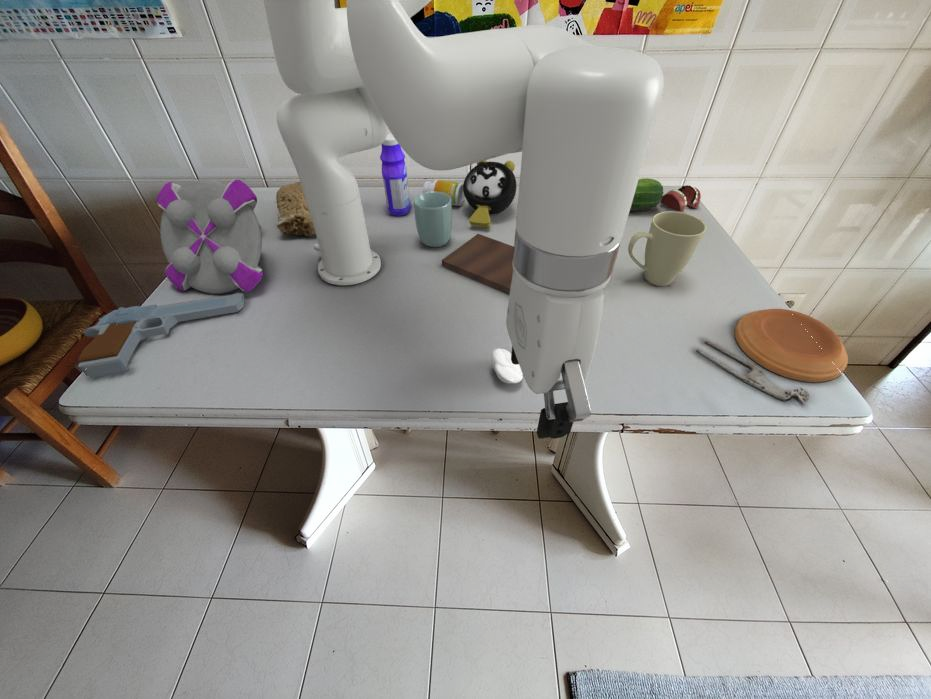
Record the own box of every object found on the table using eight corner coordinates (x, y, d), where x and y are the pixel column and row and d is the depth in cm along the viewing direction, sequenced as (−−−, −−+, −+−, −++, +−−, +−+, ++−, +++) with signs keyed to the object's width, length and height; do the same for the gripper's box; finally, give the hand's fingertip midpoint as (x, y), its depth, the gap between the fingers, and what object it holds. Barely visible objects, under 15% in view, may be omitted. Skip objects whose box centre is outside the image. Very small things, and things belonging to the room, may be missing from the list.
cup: (448, 253, 91) (446, 209, 84) (413, 250, 92) (408, 206, 85) (456, 235, 96) (455, 192, 89) (423, 232, 97) (419, 189, 90)
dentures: (663, 185, 101) (687, 179, 105) (655, 203, 104) (678, 197, 108) (684, 196, 98) (708, 190, 101) (675, 215, 101) (699, 208, 105)
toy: (183, 130, 73) (242, 154, 87) (111, 237, 78) (178, 243, 93) (284, 233, 73) (326, 240, 88) (205, 332, 79) (257, 323, 93)
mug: (644, 259, 88) (662, 204, 80) (690, 278, 83) (715, 222, 75) (616, 281, 83) (632, 225, 75) (663, 303, 78) (686, 246, 69)
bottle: (409, 217, 102) (400, 141, 90) (386, 217, 102) (374, 141, 90) (412, 203, 107) (404, 130, 95) (390, 203, 107) (379, 130, 95)
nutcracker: (693, 349, 69) (710, 334, 71) (692, 352, 69) (709, 338, 71) (799, 410, 59) (815, 392, 61) (796, 414, 60) (812, 396, 62)
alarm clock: (456, 229, 105) (444, 164, 99) (507, 218, 109) (499, 155, 104) (476, 230, 94) (464, 158, 89) (531, 217, 99) (523, 148, 94)
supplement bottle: (461, 179, 102) (425, 174, 104) (456, 200, 102) (419, 194, 104) (467, 189, 107) (432, 184, 110) (461, 209, 107) (426, 204, 109)
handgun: (71, 383, 65) (99, 323, 75) (242, 351, 71) (246, 299, 81) (57, 368, 63) (87, 308, 73) (235, 336, 69) (240, 284, 79)
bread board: (441, 266, 87) (441, 257, 86) (478, 239, 95) (478, 231, 93) (525, 301, 79) (526, 292, 77) (558, 269, 86) (559, 260, 85)
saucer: (725, 302, 73) (718, 315, 76) (771, 369, 62) (761, 383, 64) (818, 301, 73) (808, 314, 75) (881, 369, 62) (868, 382, 64)
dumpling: (485, 363, 68) (490, 342, 66) (516, 365, 69) (521, 345, 67) (491, 391, 62) (497, 369, 60) (525, 393, 63) (532, 372, 61)
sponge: (328, 241, 97) (336, 187, 108) (311, 214, 90) (322, 159, 101) (275, 252, 98) (288, 197, 109) (255, 226, 92) (271, 171, 103)
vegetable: (669, 177, 96) (581, 177, 97) (665, 210, 99) (578, 210, 99) (657, 179, 103) (574, 180, 104) (653, 210, 105) (572, 210, 106)
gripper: (490, 202, 37) (485, 342, 49) (552, 335, 25) (525, 476, 37) (571, 195, 38) (547, 334, 50) (669, 320, 26) (606, 462, 38)
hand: (537, 394), depth 44 cm, fingers open, 9 cm apart
